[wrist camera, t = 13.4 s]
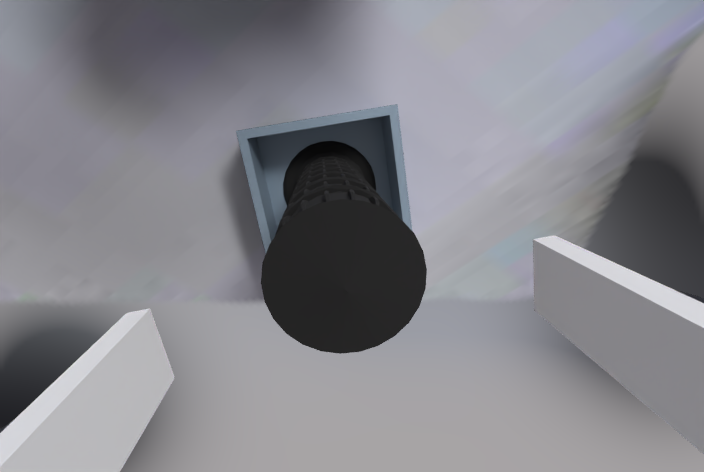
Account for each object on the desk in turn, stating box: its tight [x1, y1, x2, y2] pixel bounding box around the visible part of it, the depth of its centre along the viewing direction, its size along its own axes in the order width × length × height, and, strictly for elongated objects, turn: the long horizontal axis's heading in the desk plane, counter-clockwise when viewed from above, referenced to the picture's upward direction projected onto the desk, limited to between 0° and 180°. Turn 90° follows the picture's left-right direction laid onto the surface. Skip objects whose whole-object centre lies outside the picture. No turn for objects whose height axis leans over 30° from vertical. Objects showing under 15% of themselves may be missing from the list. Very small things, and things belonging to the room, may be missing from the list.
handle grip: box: [261, 141, 427, 353], centre depth 27 cm, size 10×26×10 cm
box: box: [236, 104, 412, 253], centre depth 38 cm, size 15×15×6 cm
